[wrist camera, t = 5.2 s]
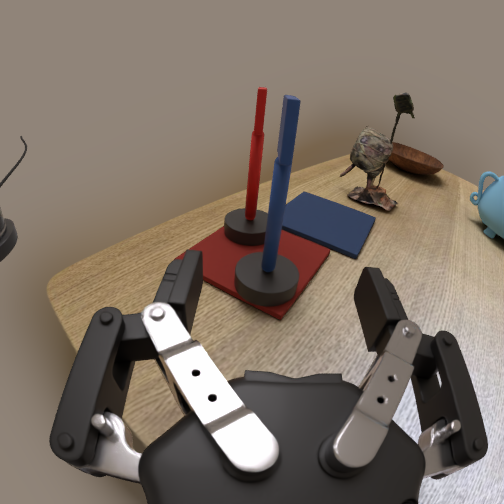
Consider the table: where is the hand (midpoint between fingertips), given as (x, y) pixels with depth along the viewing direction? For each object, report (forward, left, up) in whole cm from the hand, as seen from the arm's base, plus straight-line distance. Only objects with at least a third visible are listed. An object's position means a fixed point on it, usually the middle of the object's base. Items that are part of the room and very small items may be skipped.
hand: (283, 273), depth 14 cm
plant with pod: (-1, +38, -9) cm, 39 cm away
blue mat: (-4, +24, -9) cm, 26 cm away
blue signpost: (-4, +8, -9) cm, 12 cm away
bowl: (+5, +74, -9) cm, 75 cm away
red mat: (-7, +11, -9) cm, 16 cm away
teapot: (+30, +50, -9) cm, 59 cm away
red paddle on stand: (-10, +14, -9) cm, 19 cm away
